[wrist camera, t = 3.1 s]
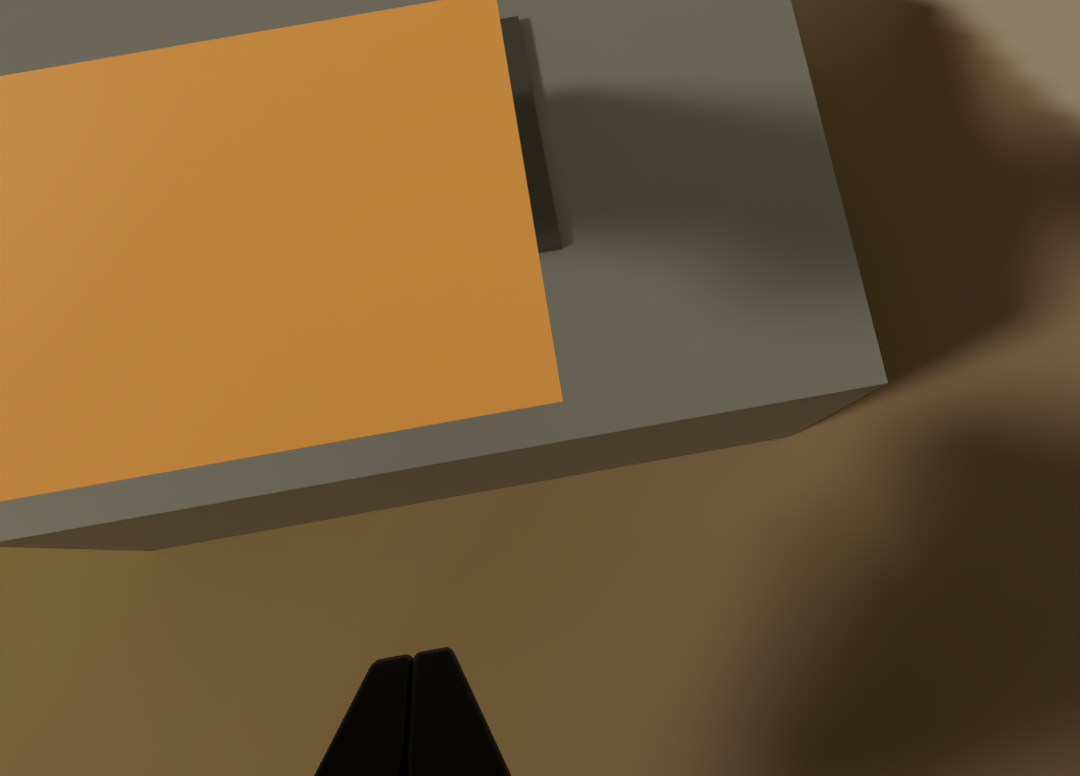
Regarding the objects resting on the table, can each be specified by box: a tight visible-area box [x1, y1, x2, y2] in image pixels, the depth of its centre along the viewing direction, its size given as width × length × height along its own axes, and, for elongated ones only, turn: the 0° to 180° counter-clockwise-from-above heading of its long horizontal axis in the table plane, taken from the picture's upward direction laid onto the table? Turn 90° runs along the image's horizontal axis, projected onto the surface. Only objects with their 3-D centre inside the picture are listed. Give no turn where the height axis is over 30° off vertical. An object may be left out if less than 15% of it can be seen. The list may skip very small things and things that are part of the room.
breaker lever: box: [0, 0, 563, 502], centre depth 9 cm, size 2×4×8 cm
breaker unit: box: [0, 0, 888, 551], centre depth 18 cm, size 10×14×6 cm
